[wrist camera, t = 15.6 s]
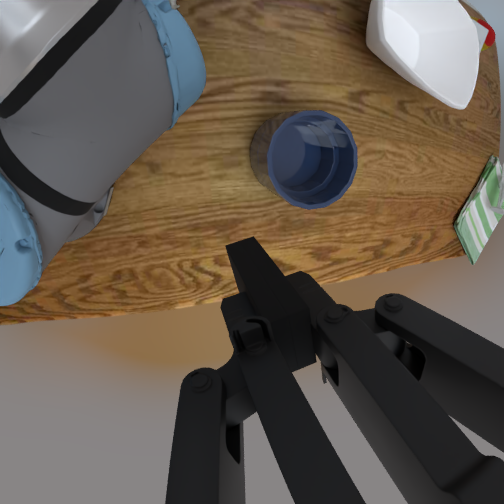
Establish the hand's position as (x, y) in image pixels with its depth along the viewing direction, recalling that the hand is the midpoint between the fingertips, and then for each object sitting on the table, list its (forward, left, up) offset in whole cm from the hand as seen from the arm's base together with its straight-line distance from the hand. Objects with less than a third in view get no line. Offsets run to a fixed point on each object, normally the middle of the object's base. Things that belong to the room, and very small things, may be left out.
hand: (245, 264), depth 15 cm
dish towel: (+64, -22, -26) cm, 72 cm away
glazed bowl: (+14, 0, -26) cm, 30 cm away
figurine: (+64, -21, -21) cm, 71 cm away
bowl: (+37, +17, -26) cm, 48 cm away
